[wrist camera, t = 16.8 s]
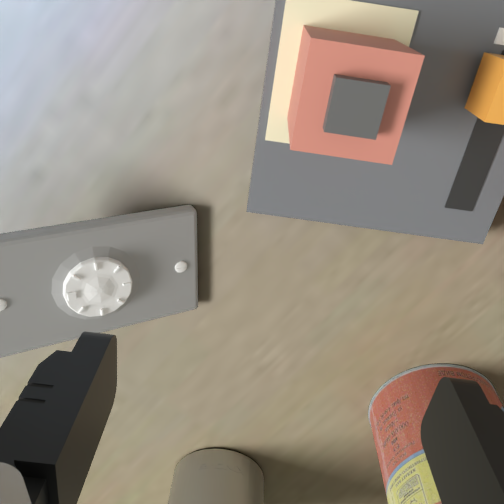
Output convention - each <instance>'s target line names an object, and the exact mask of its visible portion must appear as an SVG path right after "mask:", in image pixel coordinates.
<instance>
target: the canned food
mask: <svg viewBox="0 0 504 504" xmlns="http://www.w3.org/2000/svg"><path fill="white" fill-rule="evenodd" d="M443 377H450V378H458V379H466V380H474V381H476V382H478V384H479V385H480V386H481V388H482V390H483V392H484V394H485V396H486V398H487V399H488V401H489V403H490V404H494V405H498V406H499V407H500V408H501V409H502V410H503V411H504V407H503V406H502V404H501V402H500V400H499V398H498V395H497V392H496V390H495V388H494V386H493V385H492V383H491V382H490V381H489V380H488V379H487V378H486V377H485V376H483V375H482V374H480V373H479V372H477V371H475V370H473V369H470V368H467V367H464V366H460V365H454V364H430V365H424V366H419V367H415V368H412V369H409V370H406V371H404V372H402V373H400V374H398V375H396V376H394V377H393V378H391V379H390V380H388V381H387V382H386V383H385V384H383V385H382V386H381V387H380V388H379V390H378V391H377V392H376V393H375V395H374V396H373V398H372V400H371V403H370V406H369V411H368V417H369V422H370V426H371V428H372V431H373V436H374V440H375V445H376V450H377V454H378V459H379V464H380V468H381V473H382V478H383V482H384V487H385V491H386V496H387V501H388V504H442V502H441V499H440V497H439V494H438V491H437V488H436V485H435V482H434V479H433V476H432V473H431V470H430V467H429V464H428V461H427V458H426V455H425V452H424V450H423V446H422V443H421V423H422V419H423V417H424V414H425V412H426V410H427V408H428V405H429V403H430V401H431V399H432V396H433V394H434V392H435V389H436V387H437V385H438V383H439V381H440V380H441V379H442V378H443Z"/></svg>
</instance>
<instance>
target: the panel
mask: <svg viewBox="0 0 504 504" xmlns="http://www.w3.org/2000/svg"><path fill="white" fill-rule="evenodd" d="M303 25H306V26H313V27H319V28H325V29H332V30H338V31H344V32H351V33H357V34H363V35H370V36H376V37H382V38H389V39H395V40H397V41H398V42H400V43H402V44H404V45H406V46H408V47H410V48H412V49H413V50H415V51H417V52H419V53H421V54H423V55H425V57H424V60H423V64H422V67H421V70H420V74H419V77H418V80H417V84H416V87H415V90H414V94H413V97H412V100H411V104H410V107H409V110H408V114H407V117H406V120H405V124H404V127H403V130H402V133H401V137H400V140H399V143H398V147H397V150H396V153H395V157H394V160H393V163H392V165H389V164H382V163H375V162H368V161H362V160H355V159H348V158H341V157H335V156H328V155H321V154H314V153H308V152H301V151H294V150H290V142H289V132H288V121H287V116H288V110H289V104H290V99H291V93H292V87H293V82H294V76H295V70H296V65H297V59H298V53H299V47H300V42H301V36H302V30H303ZM484 52H486V53H493V54H499V55H504V0H276V3H275V10H274V17H273V24H272V31H271V38H270V45H269V53H268V60H267V67H266V74H265V81H264V88H263V96H262V103H261V110H260V117H259V124H258V131H257V139H256V146H255V153H254V160H253V167H252V174H251V182H250V189H249V196H248V204H247V212H252V213H259V214H267V215H274V216H281V217H288V218H296V219H303V220H310V221H318V222H325V223H332V224H339V225H347V226H354V227H361V228H369V229H376V230H383V231H391V232H398V233H405V234H412V235H420V236H427V237H434V238H442V239H449V240H456V241H463V242H471V243H478V244H483V242H484V240H485V238H486V235H487V233H488V231H489V229H490V226H491V224H492V222H493V219H494V217H495V215H496V212H497V210H498V208H499V205H500V203H501V201H502V198H503V196H504V125H501V124H494V123H487V122H484V121H482V120H481V119H479V118H478V117H476V116H475V115H474V114H472V113H471V112H469V111H468V110H466V109H465V105H466V102H467V99H468V97H469V94H470V91H471V88H472V85H473V82H474V79H475V77H476V74H477V71H478V68H479V65H480V62H481V60H482V57H483V54H484Z"/></svg>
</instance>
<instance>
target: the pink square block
mask: <svg viewBox="0 0 504 504" xmlns="http://www.w3.org/2000/svg"><path fill="white" fill-rule="evenodd" d="M424 57H425V55H423V54H421V53H419V52H417V51H415V50H413V49H412V48H410V47H408V46H406V45H404V44H402V43H400V42H398V41H397V40H395V39H389V38H382V37H376V36H370V35H363V34H357V33H351V32H344V31H338V30H332V29H325V28H319V27H313V26H306V25H303V30H302V36H301V42H300V47H299V53H298V59H297V65H296V70H295V76H294V82H293V87H292V93H291V99H290V104H289V110H288V116H287V121H288V132H289V142H290V150H294V151H301V152H308V153H314V154H321V155H328V156H335V157H341V158H348V159H355V160H362V161H368V162H375V163H382V164H389V165H392V163H393V160H394V157H395V153H396V150H397V147H398V143H399V140H400V137H401V133H402V130H403V127H404V124H405V120H406V117H407V114H408V110H409V107H410V104H411V100H412V97H413V94H414V90H415V87H416V84H417V80H418V77H419V74H420V70H421V67H422V64H423V60H424Z"/></svg>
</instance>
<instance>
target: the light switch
mask: <svg viewBox="0 0 504 504" xmlns="http://www.w3.org/2000/svg"><path fill="white" fill-rule="evenodd" d="M127 268H128V269H127ZM128 270H129V271H128ZM197 307H198V265H197V212H196V210H195V209H194V207H193V206H192V205H183V206H177V207H170V208H164V209H157V210H151V211H144V212H138V213H131V214H125V215H118V216H112V217H106V218H99V219H93V220H86V221H80V222H73V223H67V224H60V225H54V226H48V227H41V228H35V229H28V230H22V231H15V232H9V233H2V234H0V358H1V357H5V356H9V355H13V354H17V353H21V352H25V351H29V350H33V349H37V348H41V347H45V346H49V345H53V344H57V343H61V342H65V341H69V340H73V339H77V338H79V337H80V336H81V334H82V333H83V332H85V331H86V332H94V333H101V332H105V331H109V330H113V329H117V328H121V327H125V326H129V325H133V324H137V323H141V322H145V321H149V320H153V319H157V318H161V317H165V316H169V315H173V314H177V313H181V312H185V311H189V310H193V309H196V308H197Z"/></svg>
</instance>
